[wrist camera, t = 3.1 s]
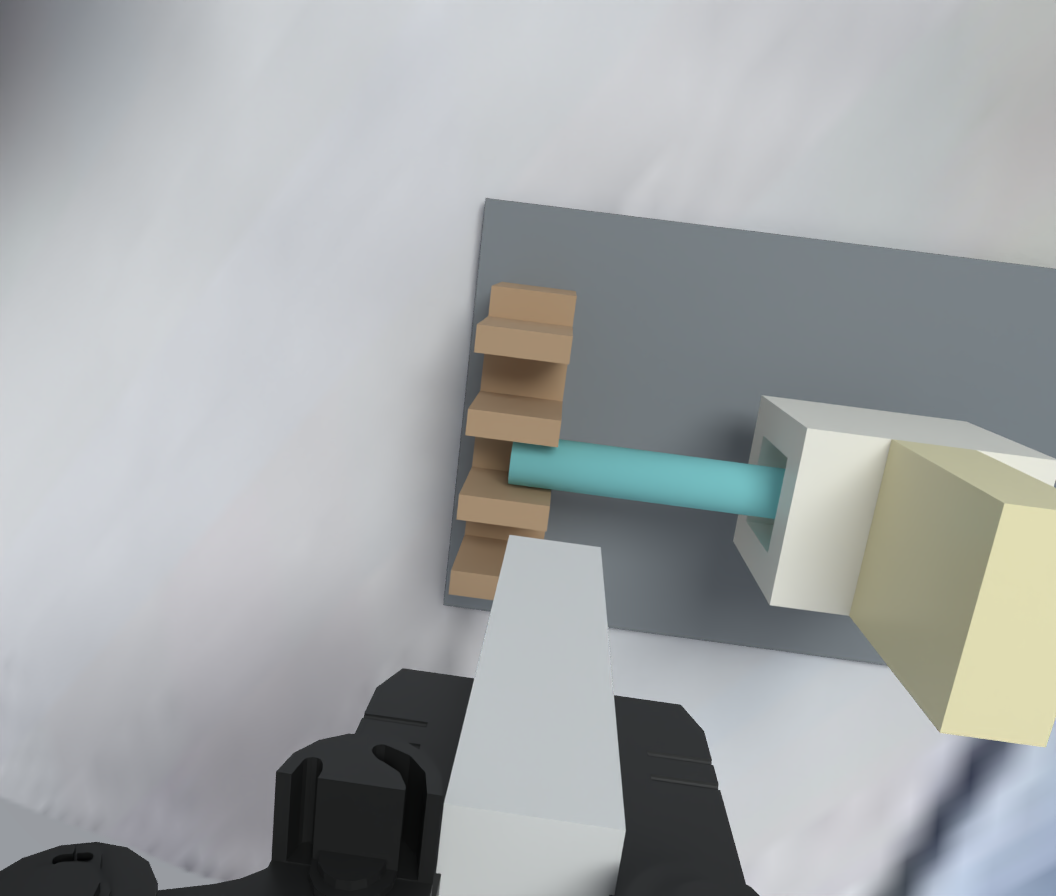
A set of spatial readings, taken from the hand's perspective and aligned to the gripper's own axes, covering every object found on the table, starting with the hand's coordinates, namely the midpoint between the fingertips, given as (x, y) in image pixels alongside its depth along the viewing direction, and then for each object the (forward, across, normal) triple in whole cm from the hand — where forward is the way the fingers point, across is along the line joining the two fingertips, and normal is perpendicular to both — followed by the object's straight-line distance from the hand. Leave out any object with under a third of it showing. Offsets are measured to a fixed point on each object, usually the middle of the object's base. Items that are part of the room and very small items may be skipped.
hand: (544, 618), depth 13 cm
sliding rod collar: (+11, +9, 0) cm, 14 cm away
